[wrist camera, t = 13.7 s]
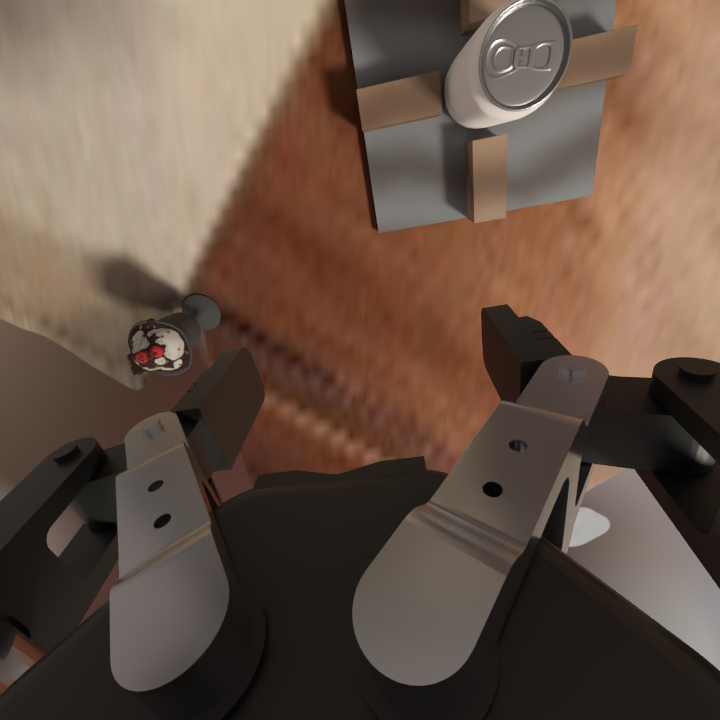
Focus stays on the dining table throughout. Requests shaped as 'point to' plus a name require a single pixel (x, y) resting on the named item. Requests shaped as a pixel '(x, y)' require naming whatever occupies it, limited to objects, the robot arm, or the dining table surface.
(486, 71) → the can
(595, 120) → the crossing block
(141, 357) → the sundae
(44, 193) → the dining table surface
